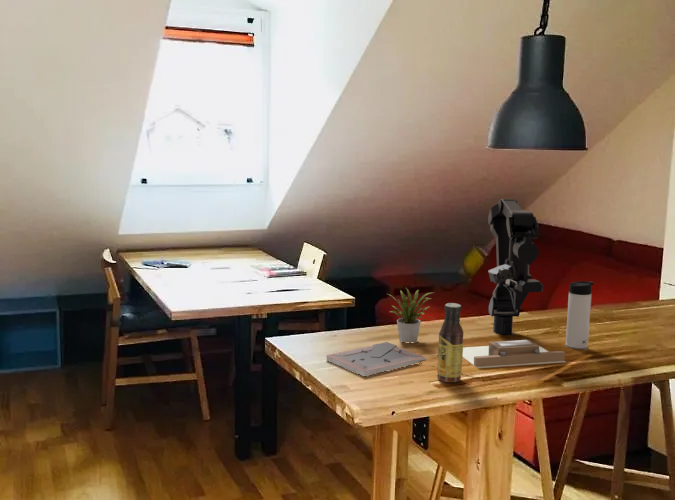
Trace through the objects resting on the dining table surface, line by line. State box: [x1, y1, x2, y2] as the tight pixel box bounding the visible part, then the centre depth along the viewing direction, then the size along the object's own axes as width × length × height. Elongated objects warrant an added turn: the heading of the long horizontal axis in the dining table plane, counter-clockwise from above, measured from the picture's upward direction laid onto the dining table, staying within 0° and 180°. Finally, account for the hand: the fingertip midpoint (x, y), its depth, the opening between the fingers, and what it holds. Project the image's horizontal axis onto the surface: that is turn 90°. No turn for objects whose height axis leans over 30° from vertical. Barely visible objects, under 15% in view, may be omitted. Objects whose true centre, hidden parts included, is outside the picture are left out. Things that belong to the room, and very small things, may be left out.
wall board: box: [462, 344, 567, 369], centre depth 218 cm, size 18×26×4 cm
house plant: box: [387, 287, 435, 343], centre depth 231 cm, size 14×14×16 cm
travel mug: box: [565, 280, 594, 351], centre depth 226 cm, size 6×7×20 cm
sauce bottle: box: [436, 302, 464, 383], centre depth 197 cm, size 7×6×20 cm
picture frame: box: [326, 341, 427, 377], centre depth 213 cm, size 16×2×22 cm
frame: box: [488, 339, 540, 356], centre depth 214 cm, size 6×12×4 cm, turn 104°
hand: (516, 309), depth 223 cm, fingers closed
